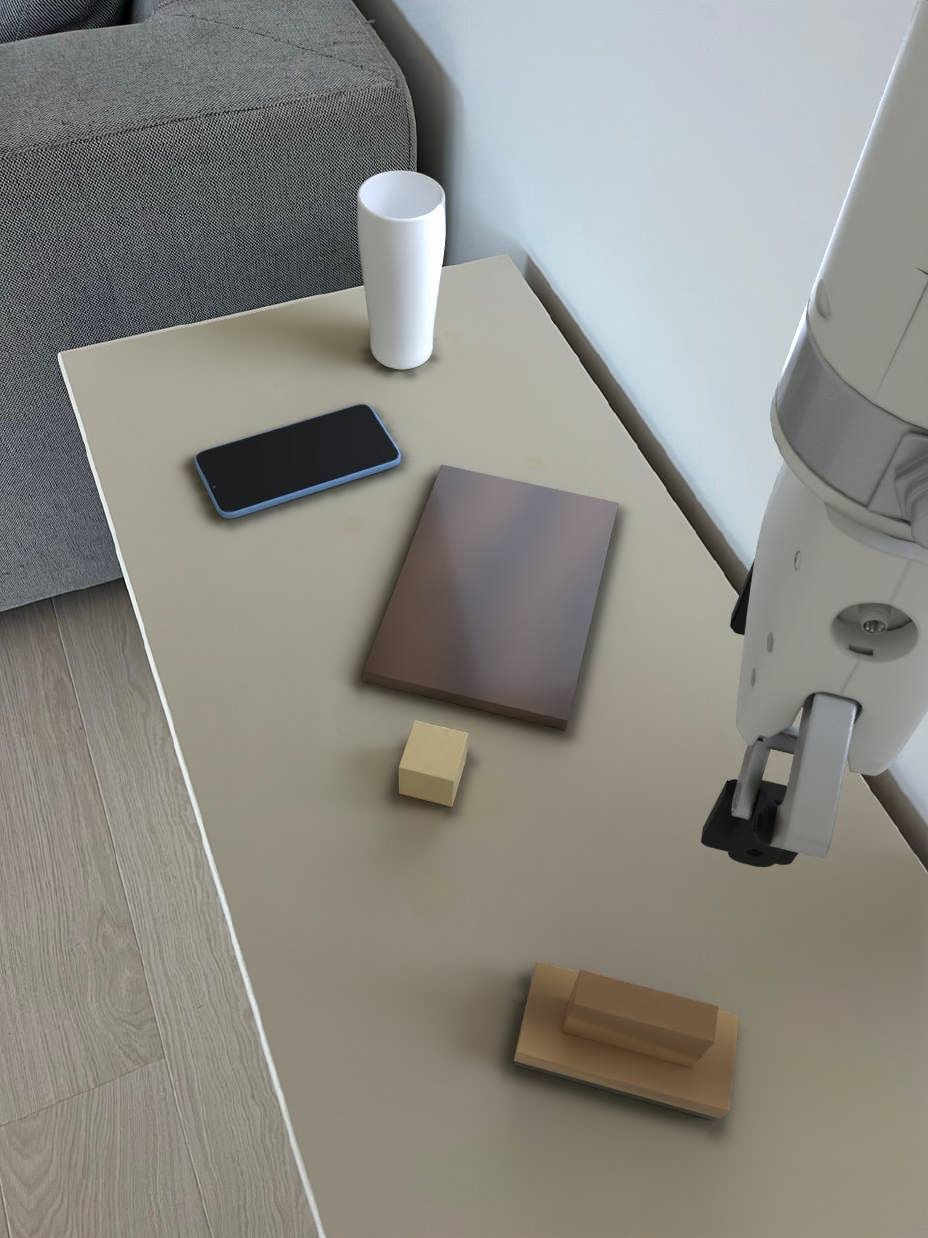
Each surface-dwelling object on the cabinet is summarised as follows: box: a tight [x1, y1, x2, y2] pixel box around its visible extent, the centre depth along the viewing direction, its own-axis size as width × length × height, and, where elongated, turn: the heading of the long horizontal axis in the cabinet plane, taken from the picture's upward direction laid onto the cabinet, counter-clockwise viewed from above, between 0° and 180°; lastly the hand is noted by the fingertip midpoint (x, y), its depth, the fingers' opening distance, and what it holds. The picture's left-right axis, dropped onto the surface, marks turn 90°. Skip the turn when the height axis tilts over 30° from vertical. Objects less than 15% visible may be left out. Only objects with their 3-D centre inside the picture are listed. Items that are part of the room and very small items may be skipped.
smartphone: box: [194, 403, 402, 519], centre depth 84 cm, size 7×1×15 cm
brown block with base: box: [513, 960, 740, 1122], centre depth 56 cm, size 5×11×8 cm, turn 76°
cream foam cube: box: [398, 719, 469, 808], centre depth 67 cm, size 4×4×4 cm
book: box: [363, 464, 620, 731], centre depth 77 cm, size 14×20×1 cm
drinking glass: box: [356, 169, 446, 370], centre depth 87 cm, size 7×7×15 cm
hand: (756, 734), depth 41 cm, fingers open, 9 cm apart
